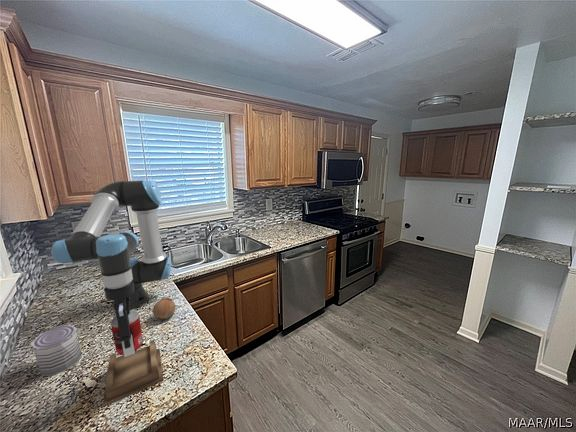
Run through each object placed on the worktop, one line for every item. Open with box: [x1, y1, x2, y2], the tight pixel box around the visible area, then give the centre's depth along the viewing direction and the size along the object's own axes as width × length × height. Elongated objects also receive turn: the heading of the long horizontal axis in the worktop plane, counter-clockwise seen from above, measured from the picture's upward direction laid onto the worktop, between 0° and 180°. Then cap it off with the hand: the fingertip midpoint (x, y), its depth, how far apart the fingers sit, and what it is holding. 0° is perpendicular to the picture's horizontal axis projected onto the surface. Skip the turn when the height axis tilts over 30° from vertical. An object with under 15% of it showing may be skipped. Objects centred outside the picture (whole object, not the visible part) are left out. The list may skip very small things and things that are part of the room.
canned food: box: [110, 310, 144, 356], centre depth 76 cm, size 8×8×11 cm
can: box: [30, 323, 83, 377], centre depth 84 cm, size 11×11×12 cm
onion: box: [152, 296, 176, 321], centre depth 110 cm, size 10×9×10 cm
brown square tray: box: [102, 339, 164, 408], centre depth 79 cm, size 16×16×6 cm
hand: (130, 346), depth 77 cm, fingers closed on canned food, 8 cm apart
